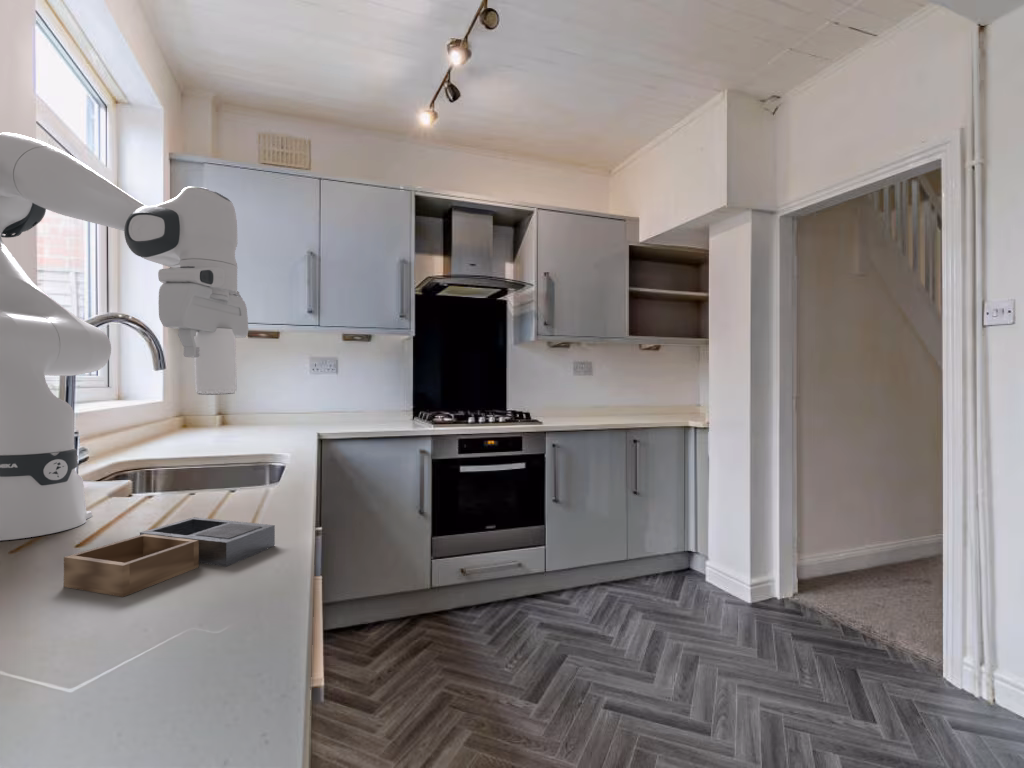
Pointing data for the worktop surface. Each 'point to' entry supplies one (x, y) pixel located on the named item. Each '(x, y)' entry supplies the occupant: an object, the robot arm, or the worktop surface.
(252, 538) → the tray
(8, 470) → the robot arm
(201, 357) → the can
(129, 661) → the worktop surface
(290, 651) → the worktop surface
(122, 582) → the box
